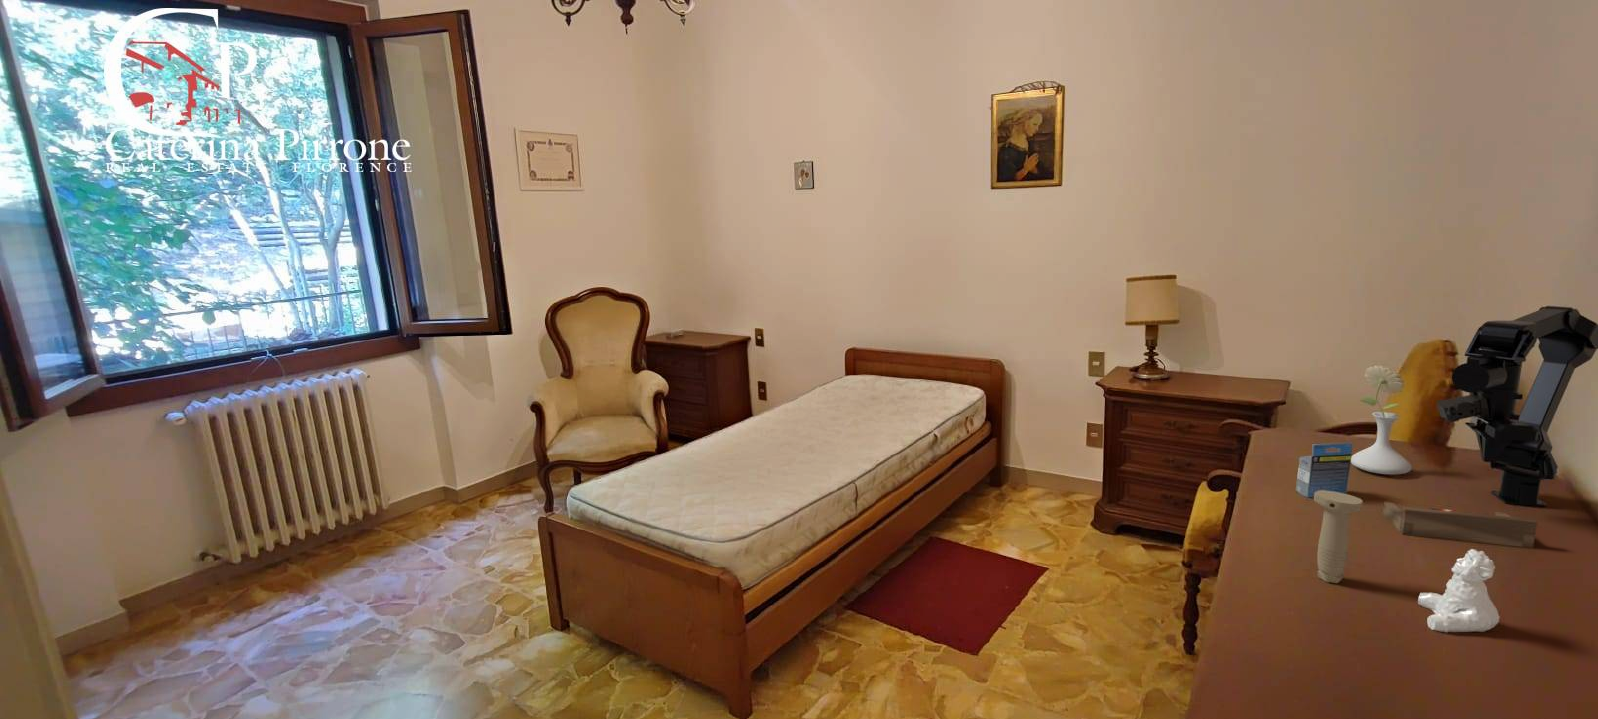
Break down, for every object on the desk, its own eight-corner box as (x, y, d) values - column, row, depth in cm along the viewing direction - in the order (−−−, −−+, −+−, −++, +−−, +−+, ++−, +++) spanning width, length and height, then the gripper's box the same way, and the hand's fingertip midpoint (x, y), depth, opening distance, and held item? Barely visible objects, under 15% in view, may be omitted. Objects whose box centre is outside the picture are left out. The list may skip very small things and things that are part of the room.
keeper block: (1382, 513, 145) (1385, 490, 144) (1503, 524, 138) (1506, 500, 137) (1402, 534, 135) (1405, 510, 135) (1533, 547, 128) (1537, 522, 127)
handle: (1346, 591, 117) (1356, 506, 114) (1302, 577, 122) (1310, 495, 119) (1357, 582, 119) (1366, 498, 117) (1312, 568, 125) (1320, 488, 122)
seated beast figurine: (1414, 600, 113) (1423, 531, 111) (1486, 613, 109) (1497, 541, 107) (1428, 630, 105) (1439, 556, 103) (1507, 645, 101) (1520, 568, 99)
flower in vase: (1424, 478, 162) (1437, 372, 157) (1373, 479, 162) (1386, 374, 158) (1378, 459, 175) (1390, 361, 170) (1332, 461, 175) (1342, 363, 170)
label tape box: (1333, 489, 158) (1338, 437, 156) (1347, 496, 154) (1353, 442, 152) (1294, 491, 158) (1299, 439, 155) (1308, 498, 154) (1313, 444, 151)
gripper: (1426, 374, 150) (1417, 444, 153) (1467, 395, 133) (1456, 473, 136) (1494, 376, 145) (1483, 448, 148) (1545, 398, 129) (1532, 479, 131)
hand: (1486, 461), depth 141 cm, fingers closed
